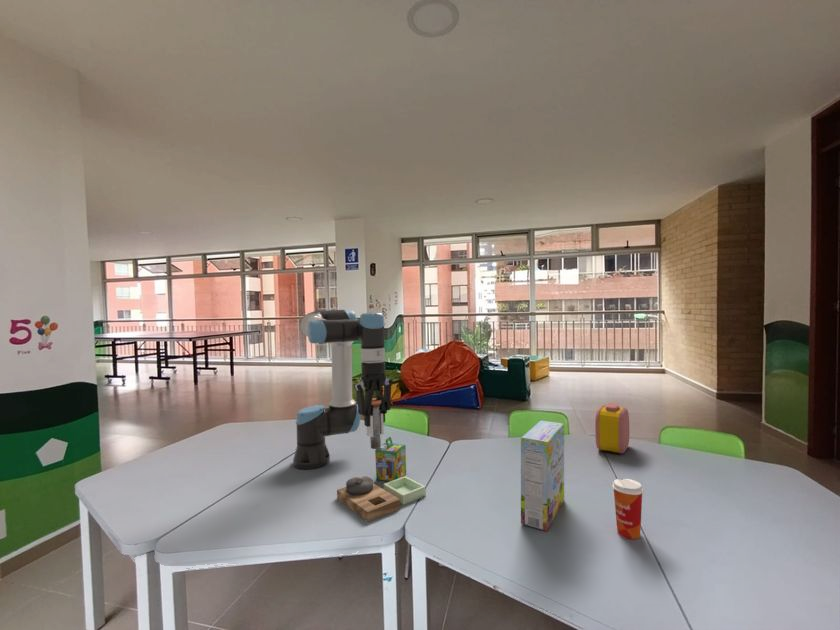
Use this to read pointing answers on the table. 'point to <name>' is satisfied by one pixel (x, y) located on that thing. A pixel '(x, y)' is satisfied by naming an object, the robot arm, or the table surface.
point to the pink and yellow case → (612, 428)
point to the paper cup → (628, 507)
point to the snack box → (542, 474)
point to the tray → (405, 489)
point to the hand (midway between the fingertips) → (375, 434)
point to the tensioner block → (367, 498)
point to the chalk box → (390, 461)
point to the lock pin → (375, 423)
